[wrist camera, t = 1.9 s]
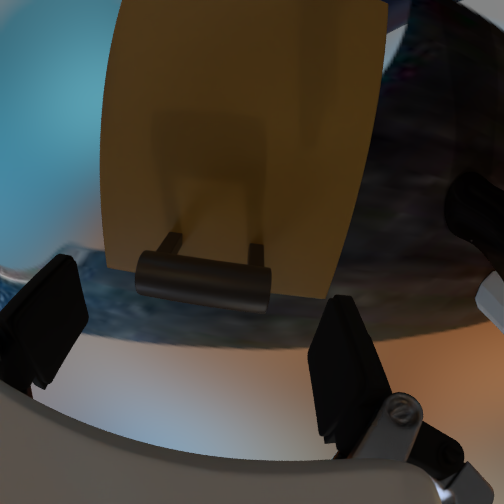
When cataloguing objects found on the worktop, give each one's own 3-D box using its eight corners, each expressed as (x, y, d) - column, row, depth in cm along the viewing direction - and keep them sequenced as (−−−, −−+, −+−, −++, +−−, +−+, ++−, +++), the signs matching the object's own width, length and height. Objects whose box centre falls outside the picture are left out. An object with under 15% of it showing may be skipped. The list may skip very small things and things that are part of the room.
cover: (322, 291, 15) (342, 356, 11) (112, 261, 15) (71, 313, 10) (382, 8, 8) (432, -25, 3) (134, -17, 7) (88, -53, 3)
